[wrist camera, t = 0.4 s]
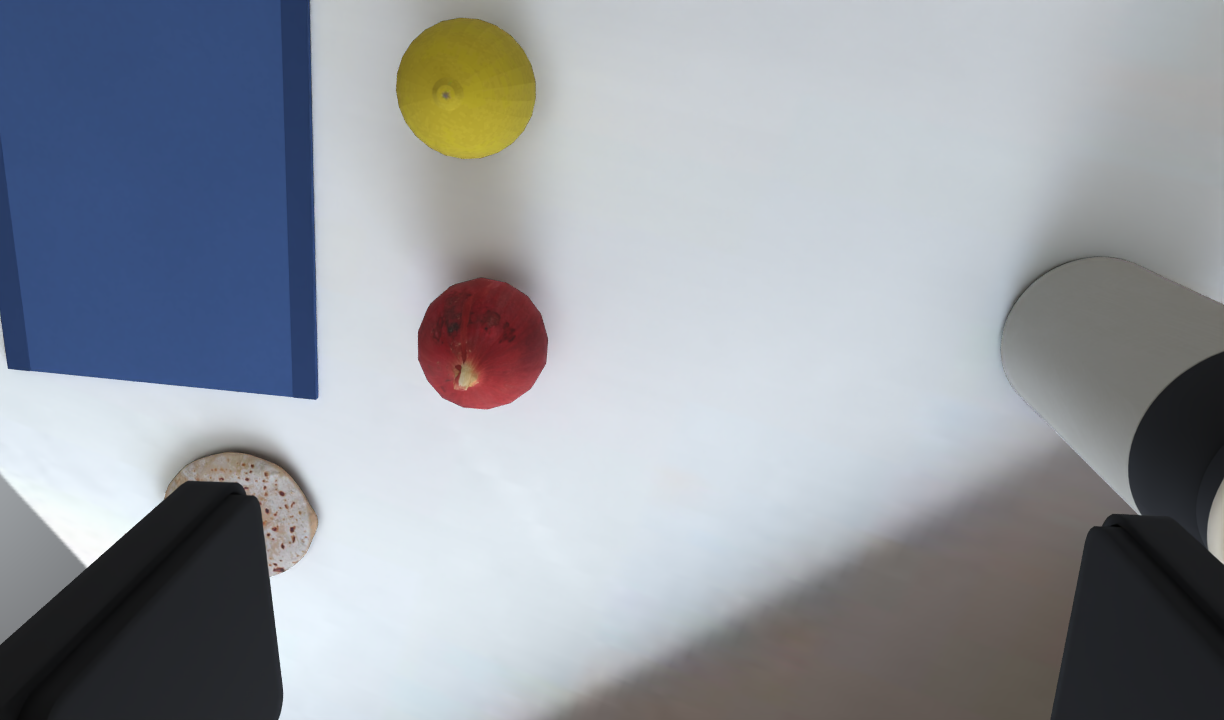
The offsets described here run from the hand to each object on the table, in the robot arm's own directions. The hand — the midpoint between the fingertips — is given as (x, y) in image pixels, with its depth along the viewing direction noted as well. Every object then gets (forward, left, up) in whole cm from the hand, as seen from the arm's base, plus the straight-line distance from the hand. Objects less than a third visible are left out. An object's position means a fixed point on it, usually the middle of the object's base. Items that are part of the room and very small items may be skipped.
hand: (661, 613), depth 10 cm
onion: (+7, -8, -34) cm, 36 cm away
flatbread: (+19, -21, -34) cm, 44 cm away
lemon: (-4, -9, -34) cm, 35 cm away
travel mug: (+5, +20, -34) cm, 40 cm away
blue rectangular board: (+2, -25, -34) cm, 42 cm away
